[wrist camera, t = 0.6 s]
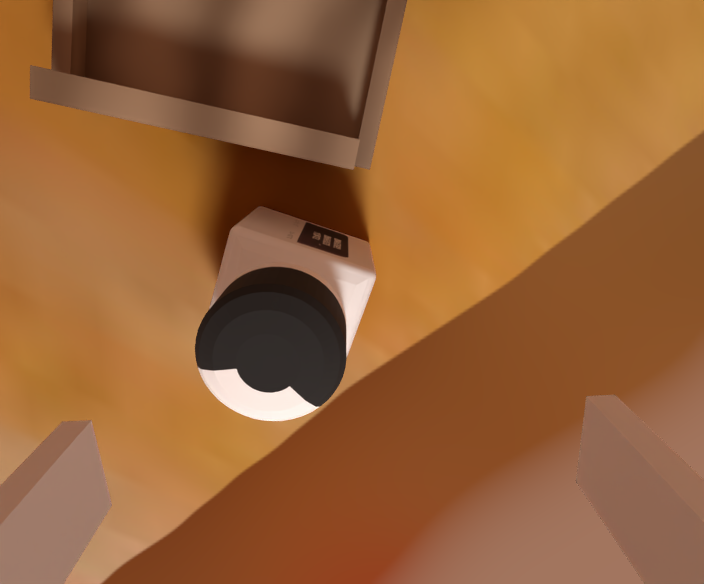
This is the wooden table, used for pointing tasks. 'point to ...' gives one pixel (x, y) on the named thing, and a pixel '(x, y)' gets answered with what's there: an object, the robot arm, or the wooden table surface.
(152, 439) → the wooden table surface
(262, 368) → the container
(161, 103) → the rack
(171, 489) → the wooden table surface
